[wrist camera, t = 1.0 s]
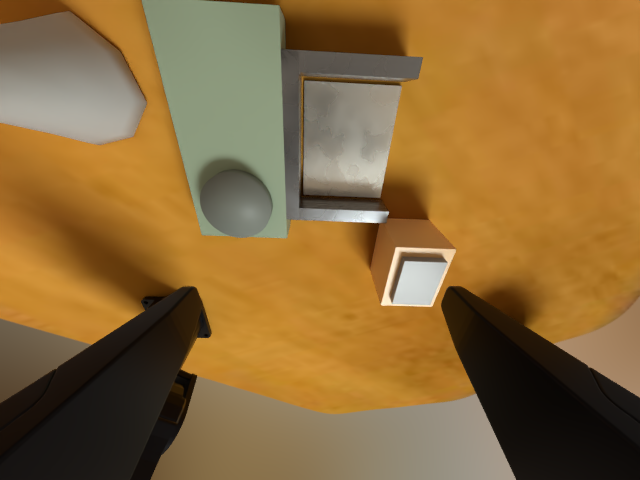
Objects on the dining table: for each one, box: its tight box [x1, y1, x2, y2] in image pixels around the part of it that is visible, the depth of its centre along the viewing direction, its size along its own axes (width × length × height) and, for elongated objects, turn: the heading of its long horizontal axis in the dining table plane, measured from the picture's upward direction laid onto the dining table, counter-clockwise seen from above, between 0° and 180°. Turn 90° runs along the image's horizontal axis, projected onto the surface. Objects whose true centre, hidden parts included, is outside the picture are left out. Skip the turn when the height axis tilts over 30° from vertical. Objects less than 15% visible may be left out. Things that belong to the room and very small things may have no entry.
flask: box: [0, 11, 147, 145], centre depth 11 cm, size 7×7×10 cm
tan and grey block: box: [370, 218, 456, 307], centre depth 20 cm, size 6×4×6 cm
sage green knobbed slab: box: [142, 0, 290, 238], centre depth 16 cm, size 14×7×4 cm, turn 178°
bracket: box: [281, 49, 423, 223], centre depth 17 cm, size 10×8×2 cm
